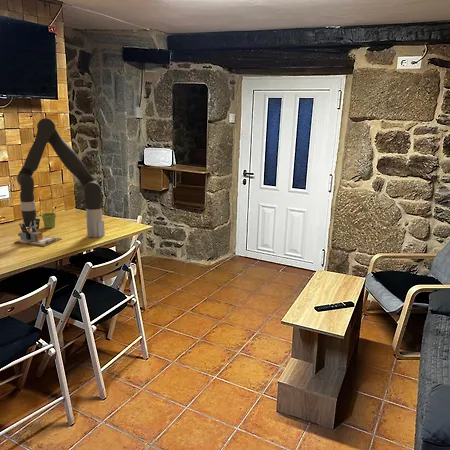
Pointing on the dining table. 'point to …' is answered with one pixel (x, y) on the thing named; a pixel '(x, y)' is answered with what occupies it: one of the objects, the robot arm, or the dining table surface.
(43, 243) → the clipboard
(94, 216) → the robot arm
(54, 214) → the plant pot
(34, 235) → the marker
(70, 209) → the dining table surface
